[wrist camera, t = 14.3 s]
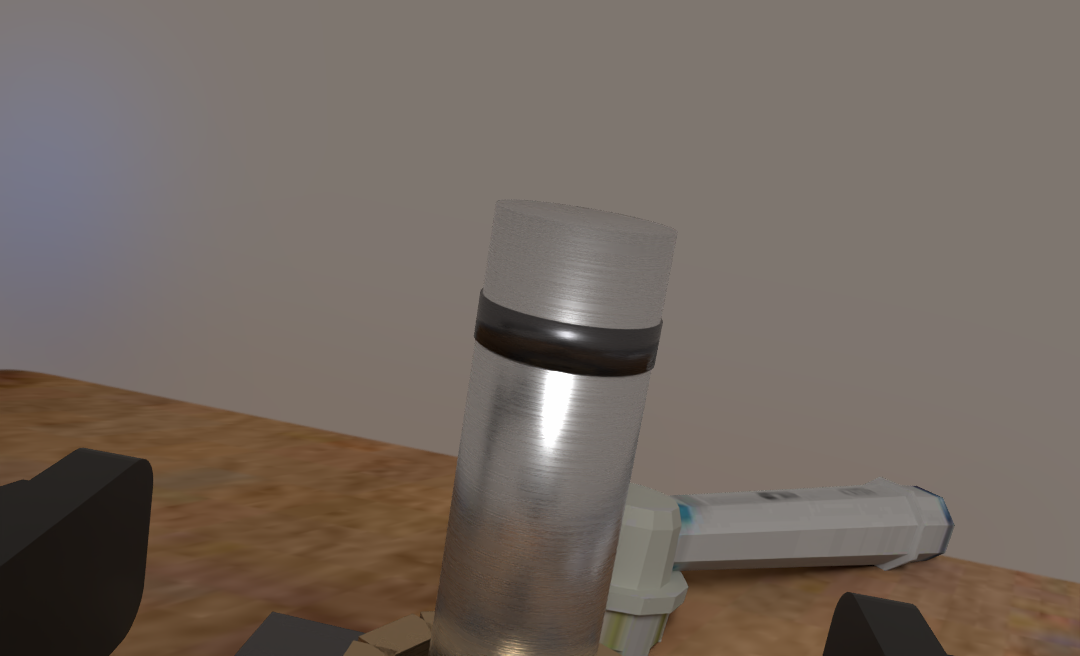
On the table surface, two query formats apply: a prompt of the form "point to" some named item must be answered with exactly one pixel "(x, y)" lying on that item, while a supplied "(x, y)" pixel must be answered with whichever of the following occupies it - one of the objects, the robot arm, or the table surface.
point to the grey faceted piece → (757, 542)
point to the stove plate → (346, 638)
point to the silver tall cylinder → (550, 428)
